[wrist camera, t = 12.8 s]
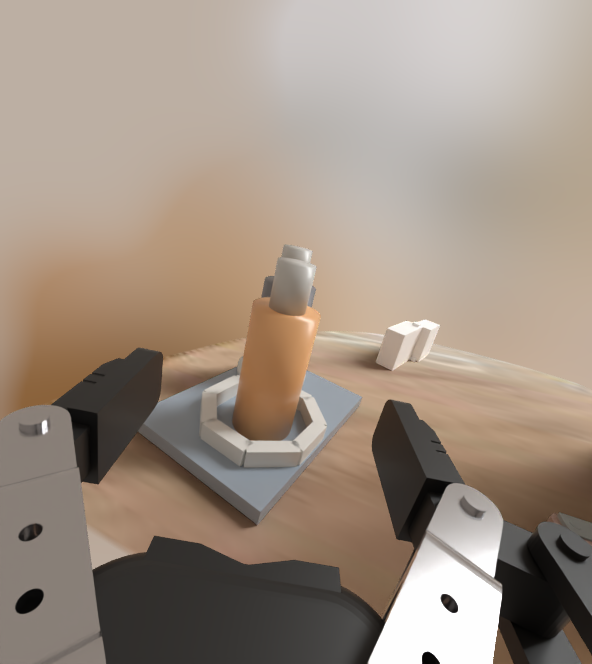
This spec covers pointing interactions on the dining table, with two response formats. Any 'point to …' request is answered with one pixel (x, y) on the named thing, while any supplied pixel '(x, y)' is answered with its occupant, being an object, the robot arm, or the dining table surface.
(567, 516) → the clamp
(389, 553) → the dining table surface
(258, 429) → the orange lotion bottle
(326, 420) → the bottle holder tray
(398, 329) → the white stepped block
